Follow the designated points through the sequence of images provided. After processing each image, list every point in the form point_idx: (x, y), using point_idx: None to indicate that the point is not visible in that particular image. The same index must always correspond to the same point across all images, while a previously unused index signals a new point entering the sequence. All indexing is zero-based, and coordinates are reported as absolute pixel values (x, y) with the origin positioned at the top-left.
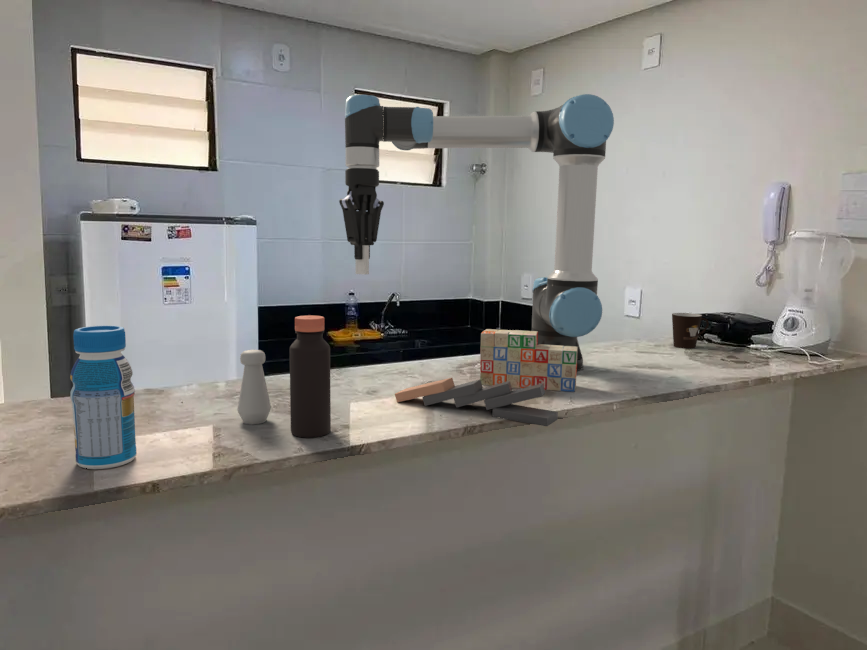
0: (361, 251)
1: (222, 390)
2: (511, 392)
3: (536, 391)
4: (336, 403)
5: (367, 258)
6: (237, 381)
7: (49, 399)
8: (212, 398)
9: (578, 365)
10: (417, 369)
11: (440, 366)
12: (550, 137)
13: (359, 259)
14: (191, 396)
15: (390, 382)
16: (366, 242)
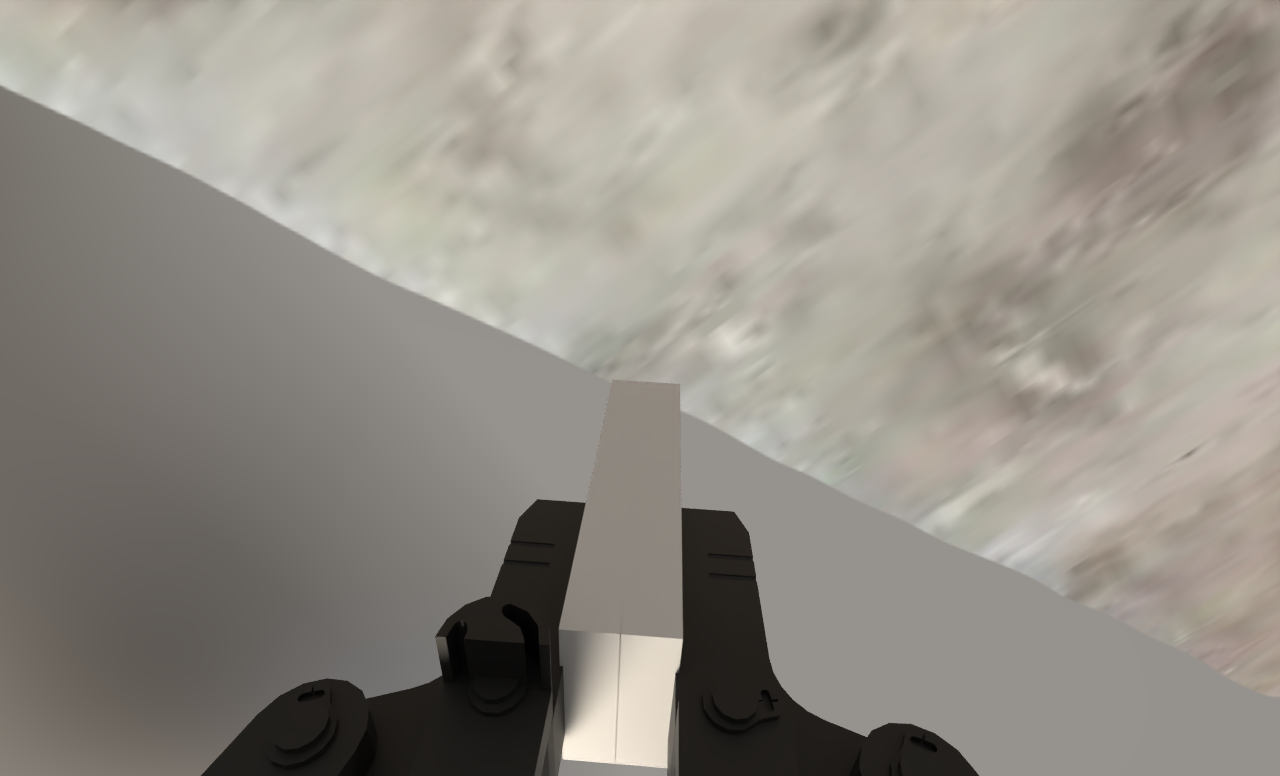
0: (700, 592)
1: (1022, 462)
2: None
3: None
4: (1067, 32)
5: (622, 480)
6: (904, 499)
7: (1232, 674)
8: (1123, 422)
9: None
10: (391, 124)
11: (268, 69)
12: None
13: (731, 516)
14: (1116, 478)
15: (655, 71)
16: (550, 720)
